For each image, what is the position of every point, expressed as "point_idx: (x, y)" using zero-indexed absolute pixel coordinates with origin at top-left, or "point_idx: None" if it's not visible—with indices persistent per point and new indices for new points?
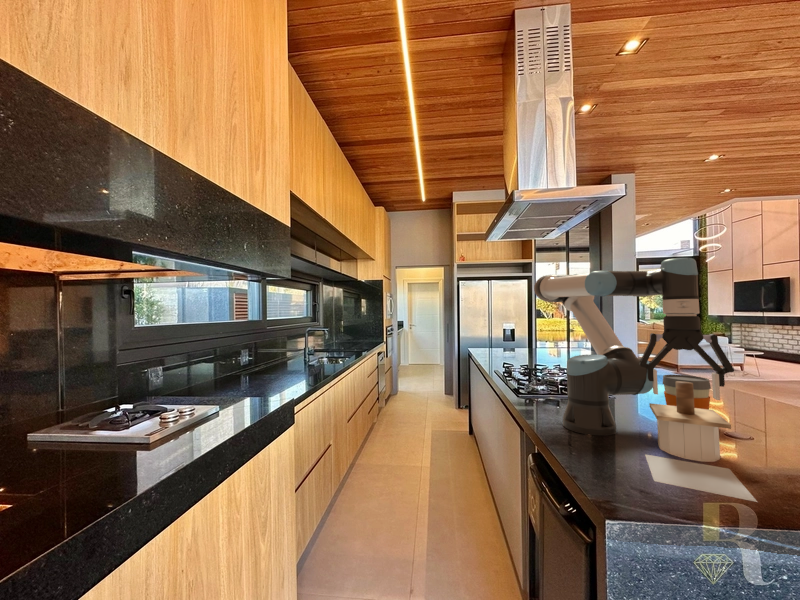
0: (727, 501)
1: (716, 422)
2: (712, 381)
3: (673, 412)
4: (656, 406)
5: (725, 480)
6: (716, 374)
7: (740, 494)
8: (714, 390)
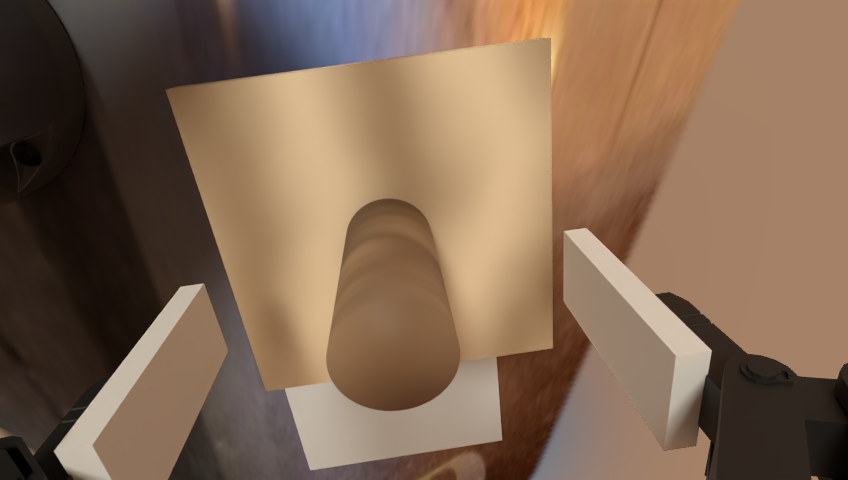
0: (447, 458)
1: (503, 348)
2: (623, 307)
3: (330, 274)
4: (227, 170)
5: (463, 368)
6: (675, 446)
7: (478, 426)
8: (589, 305)
